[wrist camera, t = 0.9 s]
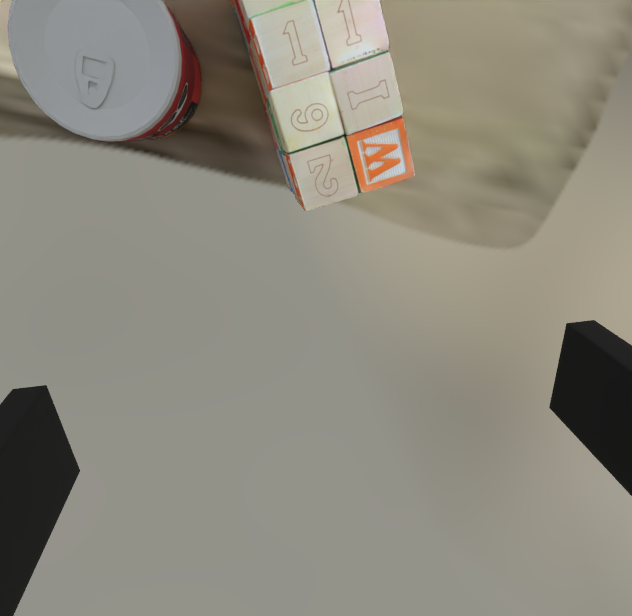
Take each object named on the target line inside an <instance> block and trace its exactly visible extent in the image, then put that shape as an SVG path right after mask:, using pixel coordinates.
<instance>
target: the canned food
mask: <svg viewBox="0 0 632 616" xmlns="http://www.w3.org/2000/svg"><path fill="white" fill-rule="evenodd" d="M8 35H9V47H10V51H11V55H12V59H13V63H14V66H15V68H16V71H17V73H18V75H19V77H20V80H21V82H22V84H23V86H24V87H25V89H26V90H27V92H28V93H29V95H30V96H31V98H32V99H33V101H34V102H35V103H36V104H37V105H38V106H39V107H40V108H41V109H42V111H43V112H44V113H45V114H46V115H48V116H49V117H50V118H51V119H53V120H54V121H55V122H56V123H58V124H59V125H61V126H62V127H64V128H66V129H68V130H70V131H71V132H73V133H76V134H78V135H81V136H84V137H87V138H90V139H93V140H100V141H108V142H121V141H137V140H153V139H161V138H164V137H168V136H170V135H172V134H174V133H176V132H177V131H179V130H180V129H181V128H182V127H184V126H185V125H186V124H187V123H188V121H189V120H190V119H191V117H192V116H193V114H194V112H195V110H196V108H197V105H198V103H199V98H200V94H201V82H202V79H201V71H200V65H199V62H198V58H197V55H196V53H195V51H194V49H193V47H192V45H191V43H190V41H189V39H188V38H187V36H186V35H185V33H184V32H183V30H182V28H181V27H180V25H179V24H178V22H177V21H176V19H175V17H174V16H173V14H172V13H171V11H170V10H169V8H168V7H167V5H166V4H165V3H164V1H163V0H13V1H12V4H11V7H10V13H9V22H8Z"/></svg>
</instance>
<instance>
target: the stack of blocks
mask: <svg viewBox="0 0 632 616" xmlns="http://www.w3.org/2000/svg"><path fill="white" fill-rule="evenodd" d="M231 3H232V6H233V9H234V10H235V12H236V15H237V19H238V22H239V25H240V29H241V32H242V35H243V38H244V42H245V45H246V48H247V52H248V55H249V58H250V61H251V64H252V67H253V70H254V74H255V77H256V80H257V84H258V87H259V90H260V93H261V97H262V100H263V103H264V109H265V113H266V116H267V120H268V123H269V126H270V129H271V133H272V136H273V139H274V143H275V146H276V150H277V154H278V157H279V161H280V164H281V167H282V171H283V174H284V177H285V180H286V184H287V186H288V188H289V189H290V191H291V192H293V194H294V195H295V198H296V199H297V201H298V203H299V204H300V205H301V206H302V207H303V209H304V210H305V211H310V210H313V209H317V208H320V207H323V206H326V205H329V204H333V203H336V202H339V201H342V200H345V199H349V198H352V197H355V196H357V195H358V193H366V192H369V191H373V190H376V189H379V188H382V187H385V186H388V185H391V184H394V183H397V182H400V181H403V180H406V179H409V178H411V177H414V176H415V171H414V166H413V161H412V157H411V152H410V148H409V143H408V137H407V133H406V128H405V123H404V120H403V118H402V115H403V106H402V102H401V97H400V93H399V89H398V84H397V80H396V75H395V71H394V67H393V62H392V58H391V55H390V53H389V52H388V49H389V43H390V42H389V38H388V33H387V29H386V25H385V21H384V16H383V12H382V7H381V3H380V0H231Z"/></svg>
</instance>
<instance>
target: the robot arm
mask: <svg viewBox="0 0 632 616" xmlns="http://www.w3.org/2000/svg"><path fill="white" fill-rule="evenodd" d="M550 409H551V410H552V411H553V412H554V413H555V414H556V415H557V416H558V417H559V418H560V420H561V421H562V422H563V423H564V424H565V425H566V426H567V427H568V428H569V429H570V430H571V431H572V432H573V433H574V435H576V437H577V438H578V439H579V440H580V441H581V442H582V443H583V444H584V445H585V446H586V447H587V448H588V449H589V451H590V452H591V453H592V454H593V455H594V456H595V457H596V458H597V459H598V460H599V461H600V462H601V463H602V464H603V466H604V467H605V468H606V469H607V470H608V471H609V472H610V473H611V474H612V475H613V476H614V477H615V479H616V480H617V481H618V482H619V483H620V484H621V485H622V486H623V487H624V488H625V489H626V490H627V491H628V492H629V494H630V495H631V496H632V346H631V345H630V344H628V343H627V342H626V341H624V340H623V339H621V338H619V337H618V336H617V335H615V334H614V333H612V332H611V331H609V330H608V329H606V328H605V327H603V326H602V325H600V324H599V323H597V322H596V321H594V320H592V321H583V322H575V323H567V324H566V329H565V334H564V339H563V344H562V348H561V353H560V358H559V363H558V368H557V373H556V378H555V383H554V388H553V393H552V397H551V403H550ZM79 472H80V469H79V467H78V465H77V462H76V459H75V457H74V455H73V452H72V449H71V447H70V444H69V442H68V439H67V437H66V434H65V431H64V429H63V426H62V424H61V421H60V419H59V416H58V414H57V411H56V409H55V406H54V404H53V401H52V399H51V396H50V393H49V391H48V388H47V386H46V385H45V386H36V387H28V388H19V389H13V390H12V391H11V392H10V393H9V394H8V396H7V397H6V398H5V399H4V401H3V402H2V403H1V404H0V616H13V615H14V613H15V610H16V608H17V606H18V604H19V602H20V600H21V598H22V595H23V593H24V591H25V589H26V587H27V584H28V582H29V580H30V578H31V576H32V574H33V571H34V569H35V567H36V565H37V563H38V561H39V559H40V556H41V554H42V552H43V550H44V548H45V545H46V543H47V541H48V539H49V537H50V535H51V532H52V530H53V528H54V526H55V524H56V522H57V520H58V517H59V515H60V513H61V511H62V509H63V507H64V504H65V502H66V500H67V498H68V496H69V493H70V491H71V489H72V487H73V485H74V483H75V480H76V478H77V476H78V474H79Z"/></svg>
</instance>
